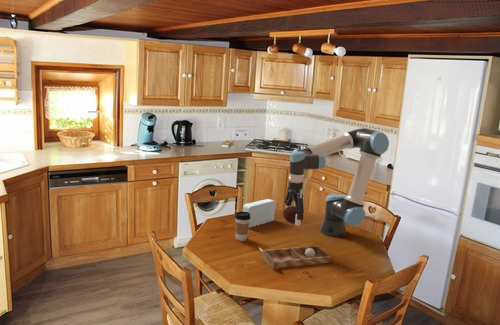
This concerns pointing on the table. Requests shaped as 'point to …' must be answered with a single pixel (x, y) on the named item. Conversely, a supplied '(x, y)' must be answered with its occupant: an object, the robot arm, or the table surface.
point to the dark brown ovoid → (291, 214)
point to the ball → (309, 253)
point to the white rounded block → (260, 212)
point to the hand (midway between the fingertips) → (292, 221)
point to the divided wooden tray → (294, 257)
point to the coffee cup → (242, 225)
